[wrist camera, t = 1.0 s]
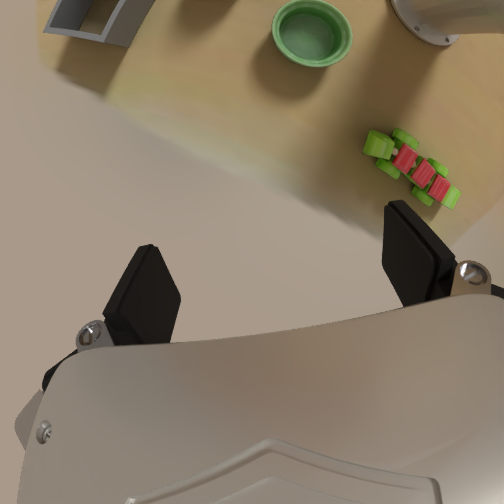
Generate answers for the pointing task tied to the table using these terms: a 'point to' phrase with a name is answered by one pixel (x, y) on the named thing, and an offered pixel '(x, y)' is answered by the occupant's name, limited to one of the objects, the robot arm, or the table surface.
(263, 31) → the table surface
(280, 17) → the ramekin
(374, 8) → the table surface
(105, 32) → the grey hollow box
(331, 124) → the table surface
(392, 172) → the toy crocodile
